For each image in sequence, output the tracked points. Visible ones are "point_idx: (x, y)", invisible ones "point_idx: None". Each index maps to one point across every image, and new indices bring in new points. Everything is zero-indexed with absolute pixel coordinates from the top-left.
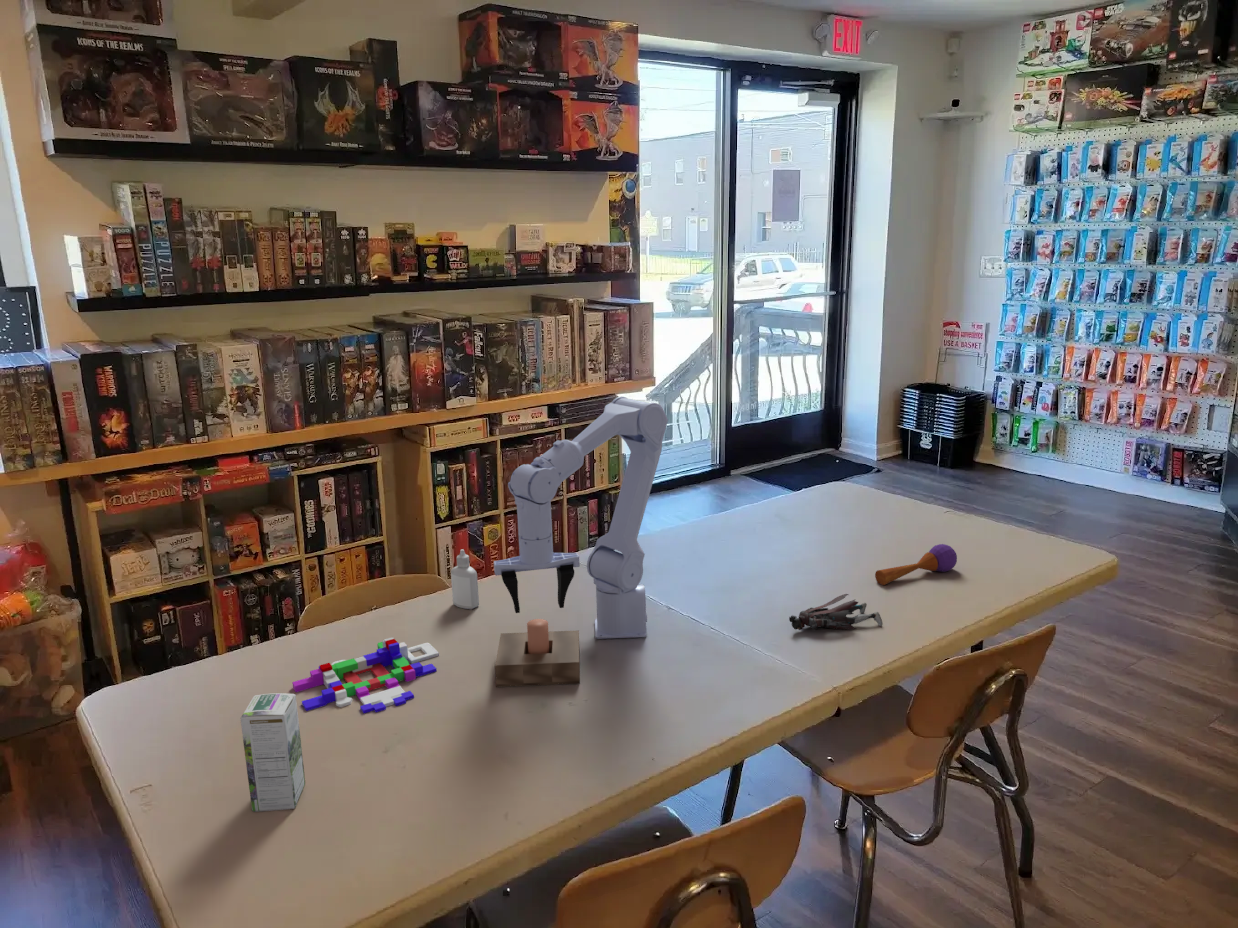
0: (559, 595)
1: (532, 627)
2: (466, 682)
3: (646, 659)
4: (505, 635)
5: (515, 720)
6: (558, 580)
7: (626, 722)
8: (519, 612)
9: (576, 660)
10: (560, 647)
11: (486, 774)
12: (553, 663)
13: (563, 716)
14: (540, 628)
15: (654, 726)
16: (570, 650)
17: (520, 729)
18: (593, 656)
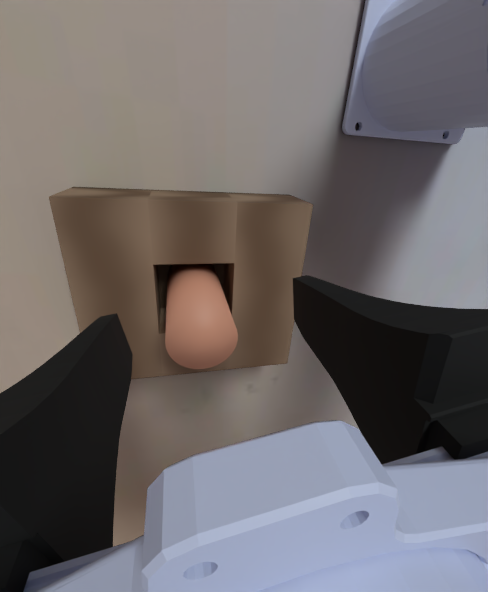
0: (316, 334)
1: (187, 366)
2: (21, 330)
3: (409, 251)
4: (73, 215)
5: (163, 431)
6: (356, 350)
7: (319, 420)
8: (131, 355)
9: (282, 358)
10: (253, 302)
11: (142, 515)
12: (233, 368)
13: (237, 416)
14: (212, 364)
15: (349, 424)
16: (275, 316)
17: (174, 447)
18: (315, 228)
